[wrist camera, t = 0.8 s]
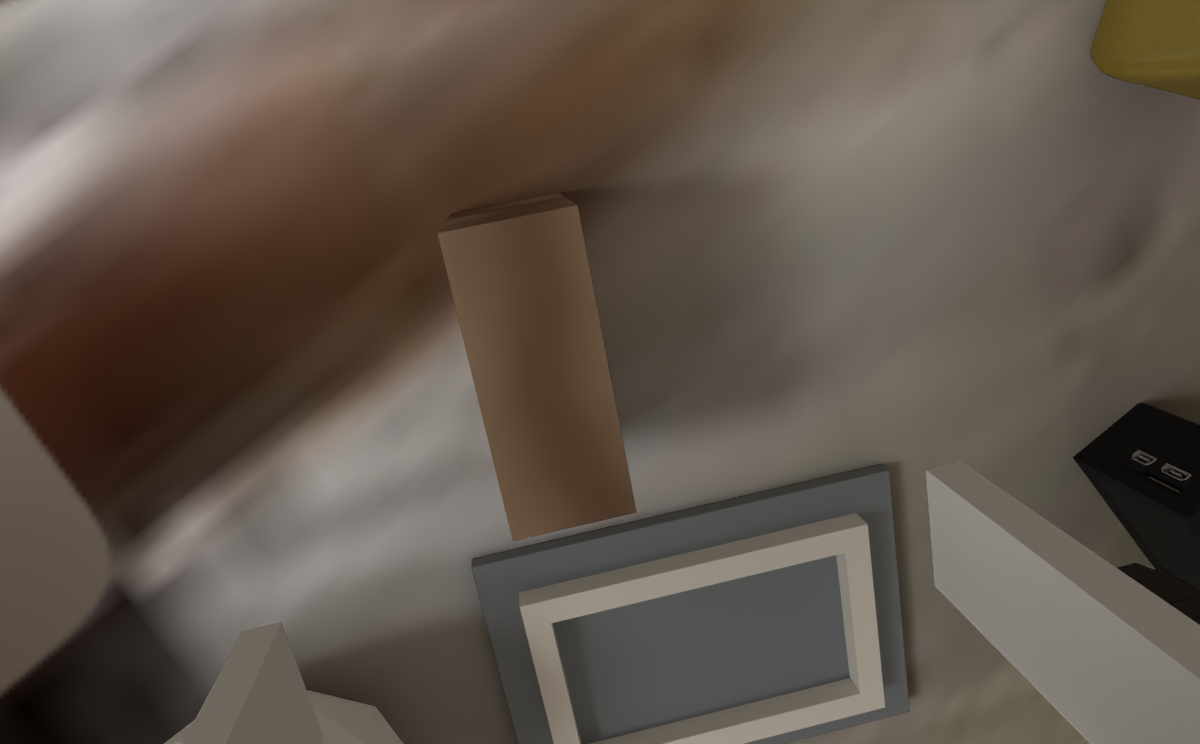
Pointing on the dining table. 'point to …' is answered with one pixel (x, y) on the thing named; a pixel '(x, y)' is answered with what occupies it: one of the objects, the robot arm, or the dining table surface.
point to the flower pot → (1151, 44)
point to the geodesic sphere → (339, 722)
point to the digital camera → (1152, 486)
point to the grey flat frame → (706, 621)
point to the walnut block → (538, 362)
